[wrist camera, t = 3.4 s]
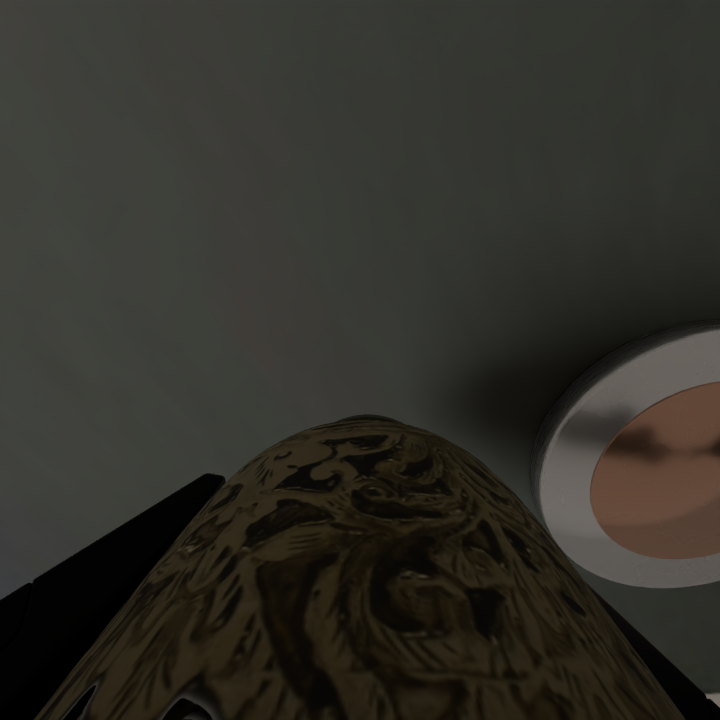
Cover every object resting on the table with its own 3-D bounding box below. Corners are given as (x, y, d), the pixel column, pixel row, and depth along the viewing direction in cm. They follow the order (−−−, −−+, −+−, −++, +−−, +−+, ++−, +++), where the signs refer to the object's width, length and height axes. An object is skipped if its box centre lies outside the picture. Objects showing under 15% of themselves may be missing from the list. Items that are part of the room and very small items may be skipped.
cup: (183, 468, 11) (-286, 1080, 3) (352, 267, 8) (178, 677, 1) (378, 596, 12) (387, 1210, 5) (563, 455, 10) (1138, 1174, 2)
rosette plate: (908, 354, 13) (965, 368, 11) (730, 581, 17) (758, 610, 15) (600, 288, 12) (625, 296, 11) (491, 538, 16) (501, 564, 15)
